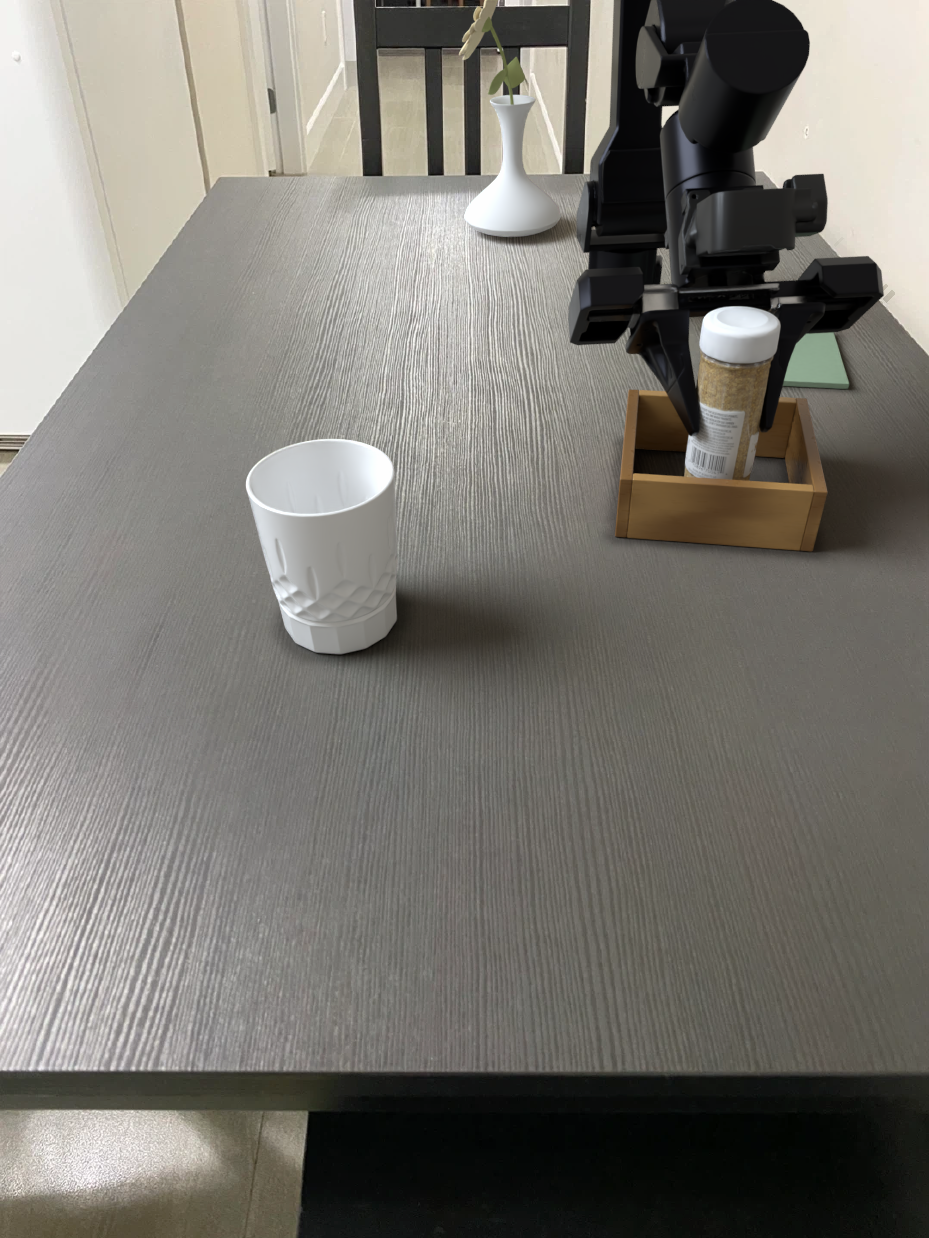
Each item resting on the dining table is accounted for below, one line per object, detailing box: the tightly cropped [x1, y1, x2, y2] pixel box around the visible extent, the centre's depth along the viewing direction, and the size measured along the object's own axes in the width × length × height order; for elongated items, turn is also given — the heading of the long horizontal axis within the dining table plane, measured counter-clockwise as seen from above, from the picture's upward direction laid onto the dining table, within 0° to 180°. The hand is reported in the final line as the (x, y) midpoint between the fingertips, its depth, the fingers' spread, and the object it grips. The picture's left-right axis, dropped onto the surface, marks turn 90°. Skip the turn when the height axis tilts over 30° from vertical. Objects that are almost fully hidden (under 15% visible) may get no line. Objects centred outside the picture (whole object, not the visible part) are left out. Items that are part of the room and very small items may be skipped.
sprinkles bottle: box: [683, 306, 780, 481], centre depth 60 cm, size 5×5×14 cm
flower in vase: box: [458, 0, 562, 238], centre depth 103 cm, size 13×11×25 cm
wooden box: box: [614, 389, 829, 552], centre depth 64 cm, size 13×13×4 cm
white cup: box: [245, 438, 399, 655], centre depth 53 cm, size 8×8×10 cm
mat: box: [783, 332, 850, 390], centre depth 82 cm, size 11×11×1 cm
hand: (730, 432), depth 59 cm, fingers closed on sprinkles bottle, 4 cm apart
